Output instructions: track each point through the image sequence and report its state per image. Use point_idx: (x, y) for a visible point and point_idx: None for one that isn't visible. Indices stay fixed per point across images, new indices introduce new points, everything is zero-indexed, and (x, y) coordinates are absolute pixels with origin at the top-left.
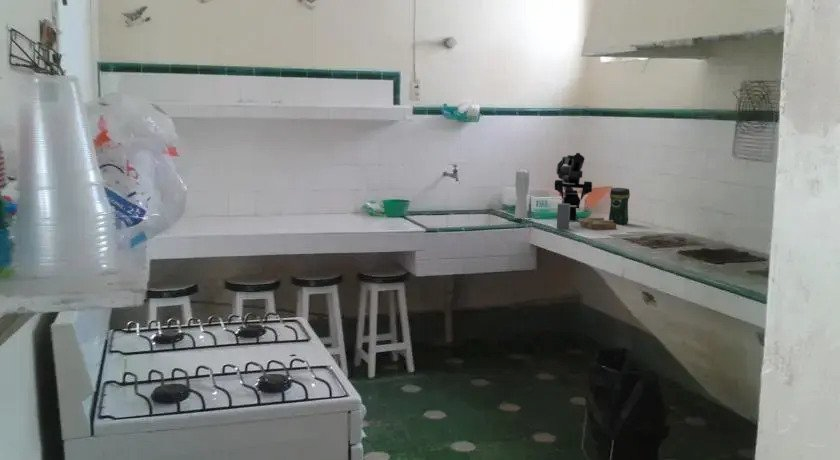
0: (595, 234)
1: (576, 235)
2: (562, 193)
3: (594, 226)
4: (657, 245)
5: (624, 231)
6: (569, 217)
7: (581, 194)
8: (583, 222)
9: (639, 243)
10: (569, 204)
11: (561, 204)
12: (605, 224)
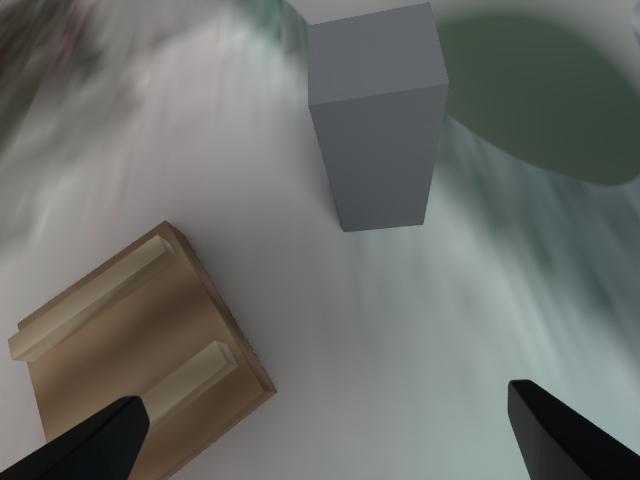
0: (195, 97)
1: (278, 35)
2: (604, 463)
3: (175, 230)
4: (26, 17)
5: (30, 256)
6: (333, 193)
7: (42, 471)
8: (240, 345)
9: (69, 17)
10: (309, 54)
11: (389, 13)
12: (96, 269)
